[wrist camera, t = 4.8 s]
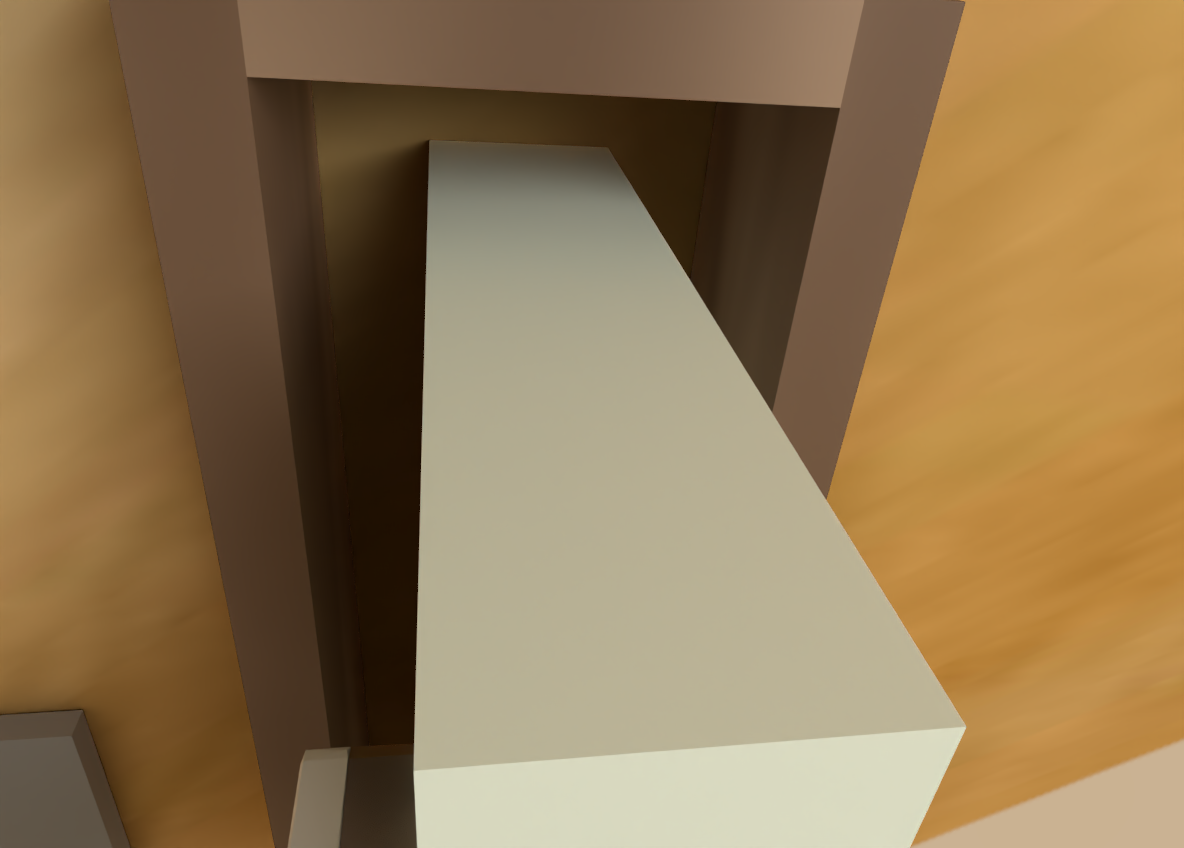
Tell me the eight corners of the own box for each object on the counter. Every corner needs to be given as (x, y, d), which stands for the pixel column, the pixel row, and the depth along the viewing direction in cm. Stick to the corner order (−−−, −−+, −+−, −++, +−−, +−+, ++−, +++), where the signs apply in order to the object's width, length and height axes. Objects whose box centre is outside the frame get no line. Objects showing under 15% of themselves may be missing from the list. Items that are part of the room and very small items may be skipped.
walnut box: (327, 802, 19) (304, 998, 16) (207, -87, 10) (96, -66, 7) (656, 774, 20) (699, 951, 17) (811, -37, 11) (965, 2, 8)
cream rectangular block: (440, 718, 18) (444, 1431, 10) (429, 139, 12) (414, 771, 4) (557, 710, 19) (657, 1387, 10) (607, 147, 12) (966, 724, 4)
